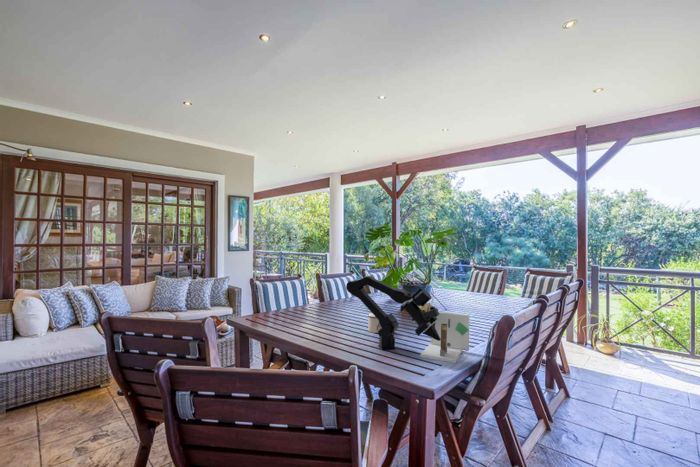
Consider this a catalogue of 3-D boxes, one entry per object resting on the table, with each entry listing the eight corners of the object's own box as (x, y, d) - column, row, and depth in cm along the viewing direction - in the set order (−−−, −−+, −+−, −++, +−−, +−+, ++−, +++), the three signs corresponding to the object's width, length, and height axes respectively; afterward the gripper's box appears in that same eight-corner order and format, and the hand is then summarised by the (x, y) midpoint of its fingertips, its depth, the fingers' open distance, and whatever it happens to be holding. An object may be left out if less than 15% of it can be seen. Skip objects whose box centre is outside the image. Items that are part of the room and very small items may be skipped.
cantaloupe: (407, 327, 204) (407, 302, 204) (421, 323, 214) (421, 299, 215) (429, 332, 194) (429, 305, 194) (442, 328, 204) (443, 302, 204)
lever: (440, 353, 152) (440, 324, 153) (442, 351, 155) (442, 323, 156) (445, 354, 151) (445, 325, 152) (446, 352, 155) (447, 323, 155)
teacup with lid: (378, 334, 189) (379, 312, 189) (364, 331, 194) (365, 310, 194) (389, 329, 198) (389, 309, 199) (375, 327, 204) (376, 307, 204)
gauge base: (420, 357, 153) (421, 318, 153) (430, 345, 170) (431, 310, 170) (462, 364, 145) (463, 323, 145) (469, 351, 162) (469, 314, 162)
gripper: (422, 304, 149) (448, 334, 144) (433, 298, 165) (456, 324, 160) (405, 321, 152) (429, 350, 147) (416, 313, 169) (439, 339, 164)
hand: (439, 340), depth 154 cm, fingers closed
